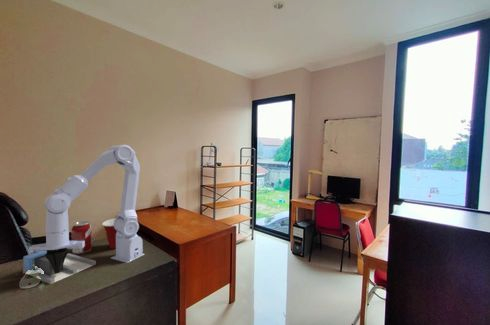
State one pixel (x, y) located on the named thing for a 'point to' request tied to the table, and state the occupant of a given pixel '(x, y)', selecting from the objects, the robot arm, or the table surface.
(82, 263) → the sliding block fixture
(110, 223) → the plastic cup
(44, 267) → the grey rectangular block
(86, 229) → the soda can
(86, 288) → the table surface
